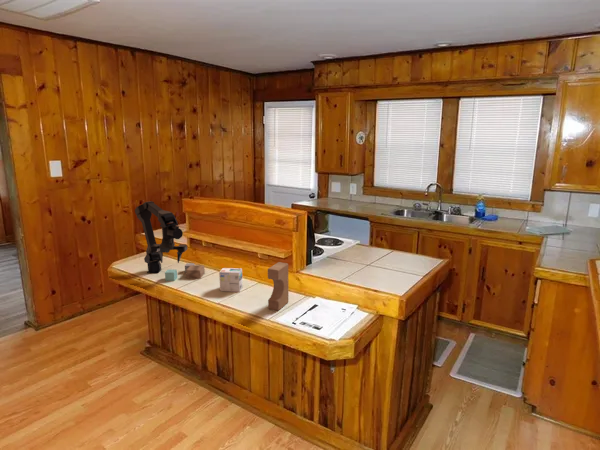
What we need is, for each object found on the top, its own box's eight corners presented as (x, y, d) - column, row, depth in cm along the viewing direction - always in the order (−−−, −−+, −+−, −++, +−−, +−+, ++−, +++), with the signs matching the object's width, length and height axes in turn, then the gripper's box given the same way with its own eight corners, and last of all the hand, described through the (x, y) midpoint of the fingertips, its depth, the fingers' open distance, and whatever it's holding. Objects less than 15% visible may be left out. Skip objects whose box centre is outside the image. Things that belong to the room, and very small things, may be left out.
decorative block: (278, 311, 185) (277, 270, 181) (267, 309, 188) (266, 268, 183) (289, 302, 195) (289, 263, 190) (278, 300, 198) (278, 261, 193)
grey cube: (185, 273, 233) (184, 265, 232) (187, 270, 237) (186, 263, 236) (192, 273, 233) (192, 265, 232) (194, 270, 238) (194, 263, 236)
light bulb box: (243, 287, 213) (242, 268, 210) (240, 292, 207) (239, 272, 204) (223, 286, 214) (222, 267, 212) (219, 291, 208) (218, 271, 205)
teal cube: (165, 281, 221) (164, 272, 220) (168, 277, 226) (167, 269, 225) (174, 281, 221) (173, 272, 220) (177, 277, 226) (176, 269, 225)
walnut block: (186, 278, 225) (186, 270, 224) (191, 273, 233) (190, 265, 232) (200, 278, 225) (200, 270, 224) (204, 273, 233) (204, 265, 232)
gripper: (145, 239, 210) (147, 267, 214) (180, 239, 209) (182, 268, 213) (153, 233, 221) (155, 260, 224) (186, 234, 220) (188, 261, 224)
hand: (170, 262), depth 221 cm, fingers open, 9 cm apart
